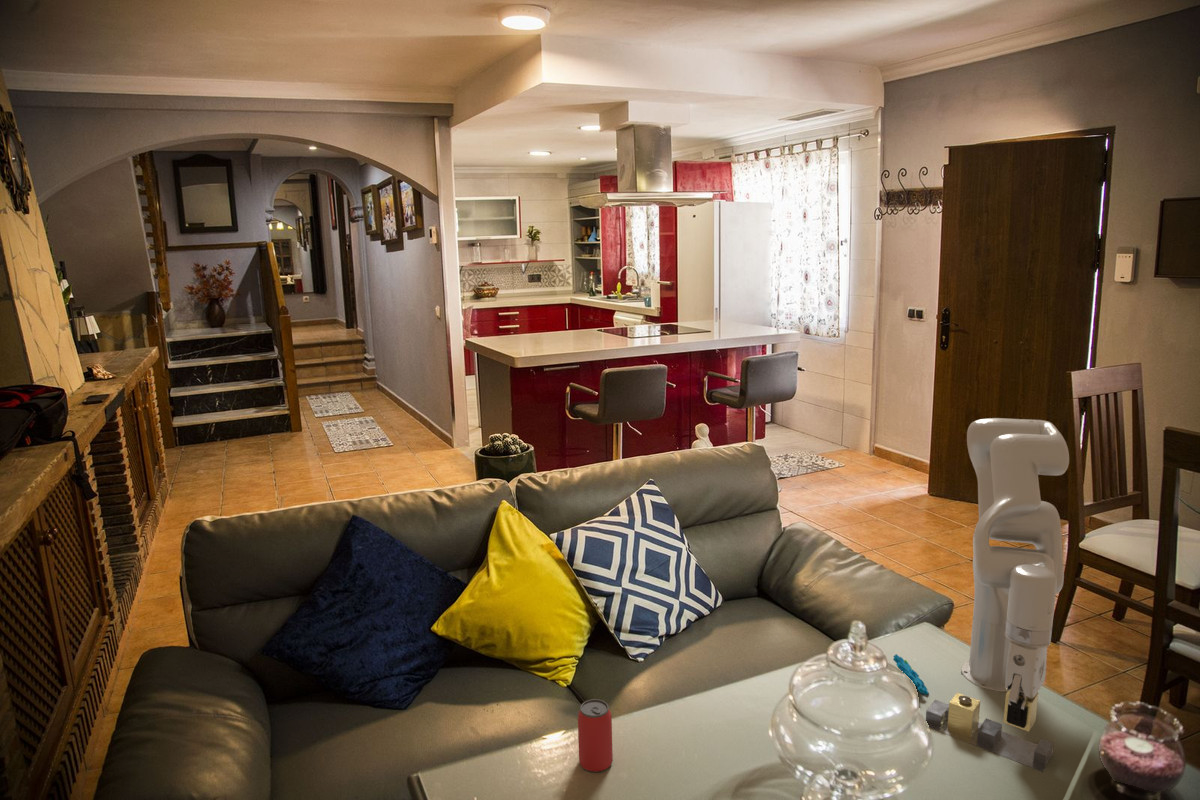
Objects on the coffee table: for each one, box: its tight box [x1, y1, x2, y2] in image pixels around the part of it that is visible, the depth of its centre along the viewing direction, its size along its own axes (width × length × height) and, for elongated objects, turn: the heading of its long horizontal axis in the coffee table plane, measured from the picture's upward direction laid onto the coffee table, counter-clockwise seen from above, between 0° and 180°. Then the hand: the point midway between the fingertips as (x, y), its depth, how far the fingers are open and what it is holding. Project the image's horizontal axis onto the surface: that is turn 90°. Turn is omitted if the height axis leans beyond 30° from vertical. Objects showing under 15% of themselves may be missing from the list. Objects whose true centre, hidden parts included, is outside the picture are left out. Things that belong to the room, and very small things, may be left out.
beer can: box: [577, 698, 614, 773], centre depth 151 cm, size 7×7×12 cm
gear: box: [893, 653, 930, 696], centre depth 174 cm, size 11×6×10 cm
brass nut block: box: [1002, 689, 1039, 733], centre depth 149 cm, size 4×4×7 cm
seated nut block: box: [947, 692, 981, 738], centre depth 157 cm, size 4×4×7 cm
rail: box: [925, 699, 1054, 773], centre depth 155 cm, size 8×22×4 cm, turn 48°
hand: (1020, 717), depth 150 cm, fingers closed on brass nut block, 4 cm apart
